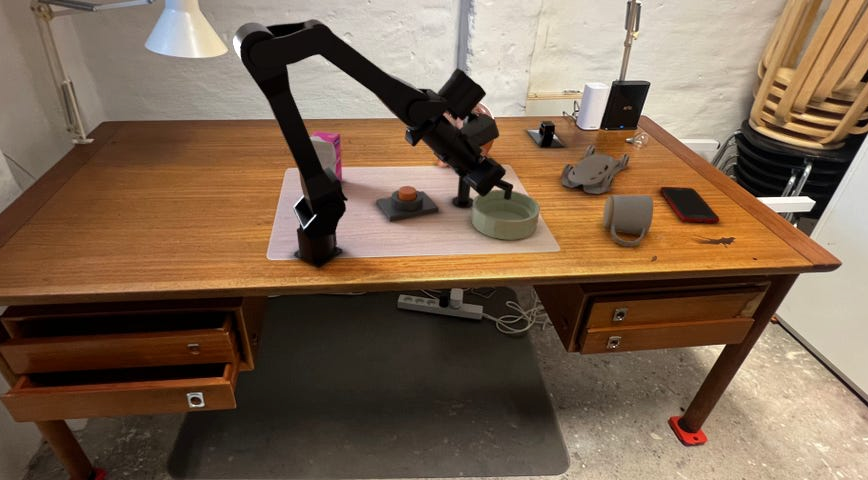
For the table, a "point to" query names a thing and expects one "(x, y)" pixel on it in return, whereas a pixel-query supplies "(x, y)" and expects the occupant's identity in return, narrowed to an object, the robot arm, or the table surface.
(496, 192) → the basin
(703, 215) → the cell phone
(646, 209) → the ceramic mug
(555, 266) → the table surface
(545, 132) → the build plate
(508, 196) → the spout
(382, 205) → the button panel
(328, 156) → the supplement box
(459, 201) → the black faucet base
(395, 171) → the table surface
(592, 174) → the grey flat lobed piece
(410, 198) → the orange button
